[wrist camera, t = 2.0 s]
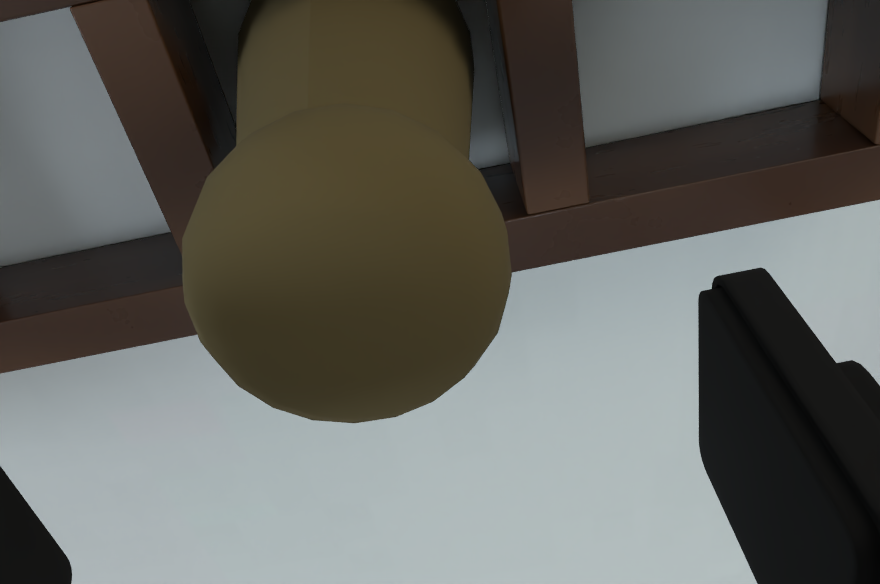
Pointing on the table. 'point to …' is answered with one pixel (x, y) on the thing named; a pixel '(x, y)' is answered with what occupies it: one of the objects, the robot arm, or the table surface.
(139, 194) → the table surface
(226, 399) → the table surface
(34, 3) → the holder
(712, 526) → the table surface
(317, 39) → the olive pawn
